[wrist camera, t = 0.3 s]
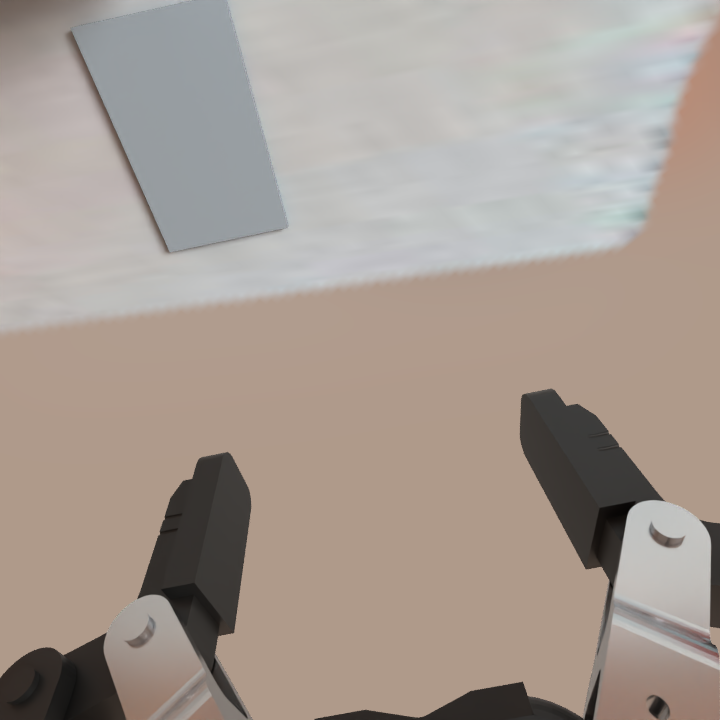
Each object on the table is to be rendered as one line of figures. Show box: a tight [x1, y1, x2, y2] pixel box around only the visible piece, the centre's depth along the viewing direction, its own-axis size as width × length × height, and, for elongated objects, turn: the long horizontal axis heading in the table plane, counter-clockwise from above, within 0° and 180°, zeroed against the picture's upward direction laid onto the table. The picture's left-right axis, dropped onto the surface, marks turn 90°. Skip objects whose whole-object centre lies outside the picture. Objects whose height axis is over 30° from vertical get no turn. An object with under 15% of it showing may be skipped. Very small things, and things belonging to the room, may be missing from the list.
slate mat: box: [71, 0, 288, 252], centre depth 32 cm, size 15×10×1 cm, turn 11°
